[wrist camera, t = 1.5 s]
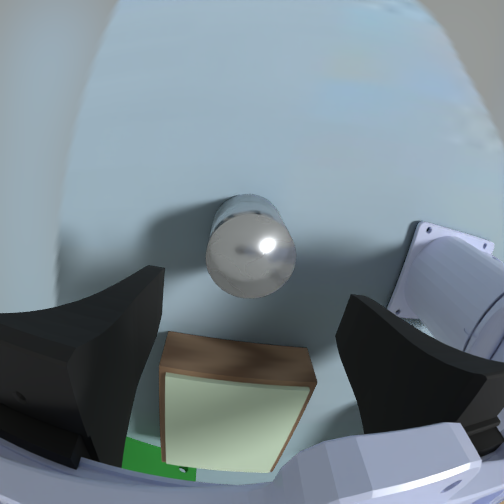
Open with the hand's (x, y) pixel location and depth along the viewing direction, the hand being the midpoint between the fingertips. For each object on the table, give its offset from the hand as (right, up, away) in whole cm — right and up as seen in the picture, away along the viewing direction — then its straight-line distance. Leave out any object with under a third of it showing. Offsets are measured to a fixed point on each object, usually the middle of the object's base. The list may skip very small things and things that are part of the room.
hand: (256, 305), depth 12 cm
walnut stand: (-2, -11, +15) cm, 19 cm away
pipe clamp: (-12, -21, +18) cm, 31 cm away
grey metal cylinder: (-1, +3, +9) cm, 9 cm away
